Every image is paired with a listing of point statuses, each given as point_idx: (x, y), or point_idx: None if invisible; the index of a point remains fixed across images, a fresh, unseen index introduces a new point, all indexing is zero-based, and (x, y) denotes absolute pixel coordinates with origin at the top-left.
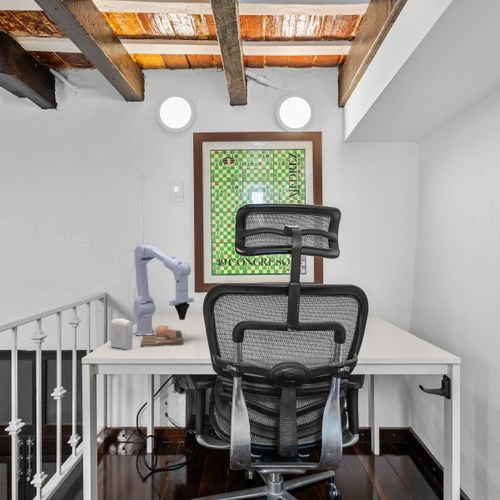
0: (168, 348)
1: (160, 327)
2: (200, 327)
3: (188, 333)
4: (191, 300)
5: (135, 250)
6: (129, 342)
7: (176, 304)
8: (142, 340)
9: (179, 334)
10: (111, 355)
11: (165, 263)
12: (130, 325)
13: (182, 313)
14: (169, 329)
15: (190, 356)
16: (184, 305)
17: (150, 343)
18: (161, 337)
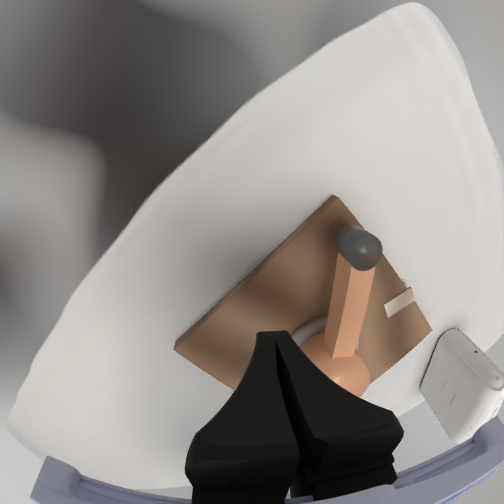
0: (415, 212)
1: (357, 383)
2: (38, 355)
3: (123, 342)
4: (76, 493)
5: None
6: (465, 340)
7: (424, 466)
8: (382, 372)
9: (364, 230)
10: (499, 305)
11: None
12: (495, 379)
13: (318, 370)
14: (348, 335)
15: (443, 54)
16: (363, 438)
17: (416, 312)
18: None
